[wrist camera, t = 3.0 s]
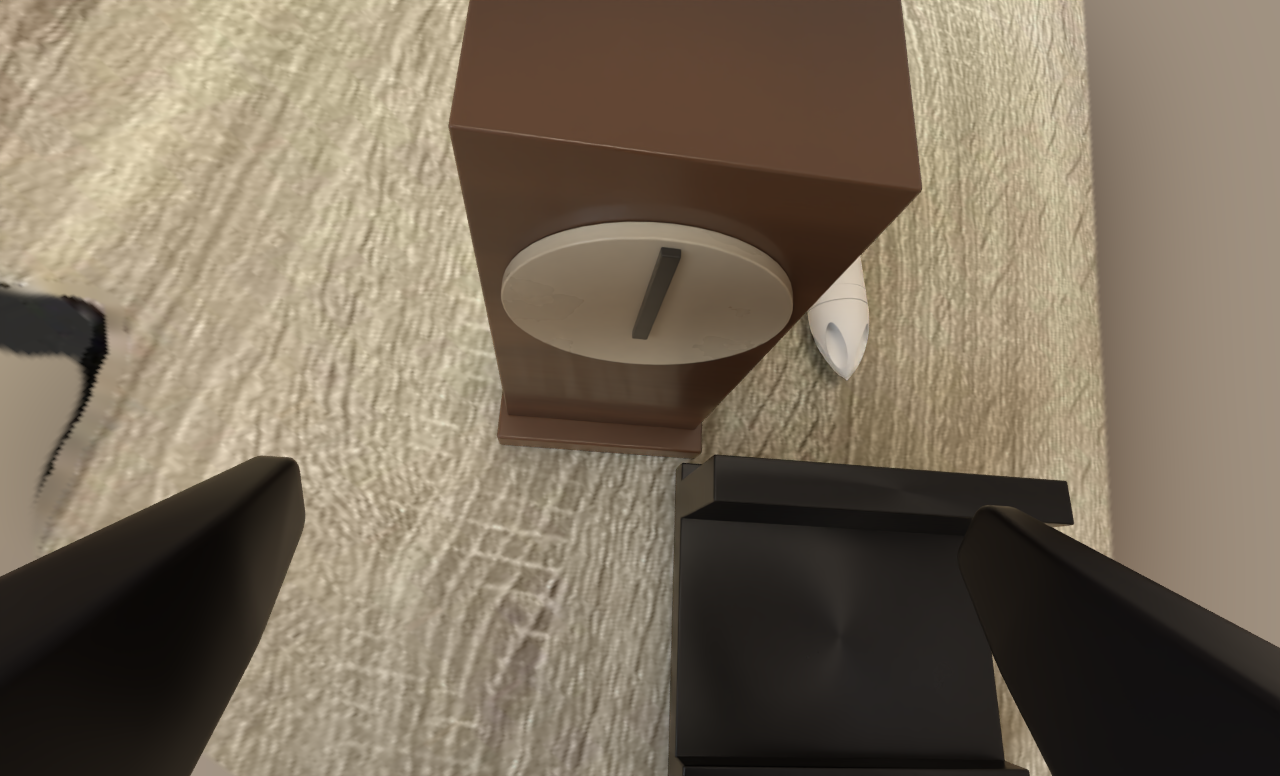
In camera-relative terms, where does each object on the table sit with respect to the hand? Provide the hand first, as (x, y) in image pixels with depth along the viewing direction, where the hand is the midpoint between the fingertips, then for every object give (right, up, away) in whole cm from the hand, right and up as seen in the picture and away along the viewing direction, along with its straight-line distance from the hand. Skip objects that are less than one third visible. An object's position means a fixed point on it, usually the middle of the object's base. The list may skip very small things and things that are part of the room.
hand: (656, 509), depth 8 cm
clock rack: (+6, -6, +12) cm, 14 cm away
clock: (-1, +2, +13) cm, 13 cm away
